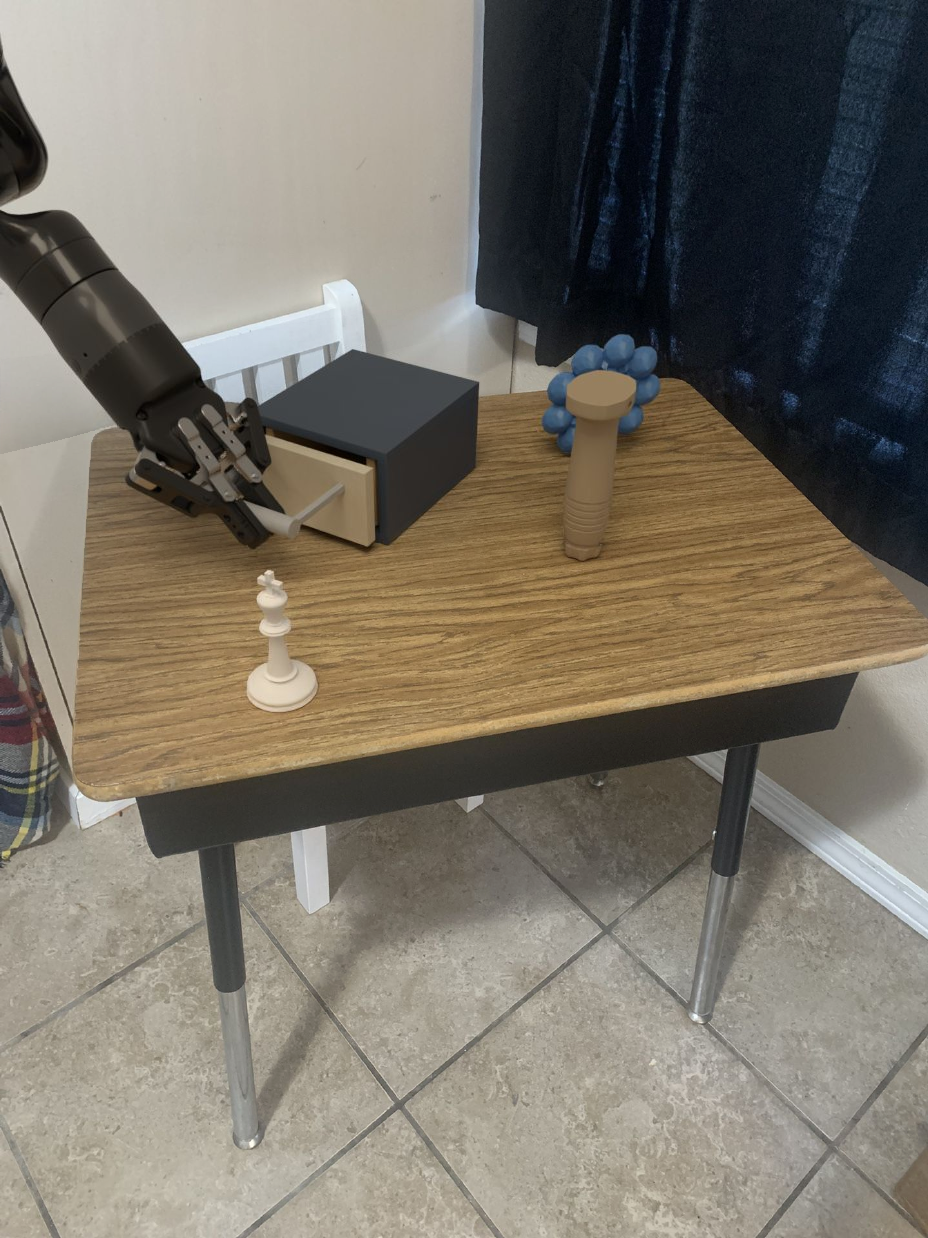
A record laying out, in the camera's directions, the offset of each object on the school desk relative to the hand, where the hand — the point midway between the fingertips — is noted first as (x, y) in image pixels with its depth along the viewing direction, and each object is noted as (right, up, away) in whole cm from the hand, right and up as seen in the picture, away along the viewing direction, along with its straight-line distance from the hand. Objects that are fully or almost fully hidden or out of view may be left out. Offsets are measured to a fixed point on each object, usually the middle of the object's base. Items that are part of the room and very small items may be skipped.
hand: (270, 535), depth 76 cm
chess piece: (+2, -11, -7) cm, 14 cm away
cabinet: (+6, +6, +15) cm, 18 cm away
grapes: (+28, +11, +22) cm, 37 cm away
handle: (+25, -1, +8) cm, 26 cm away
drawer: (+3, +3, +10) cm, 11 cm away
